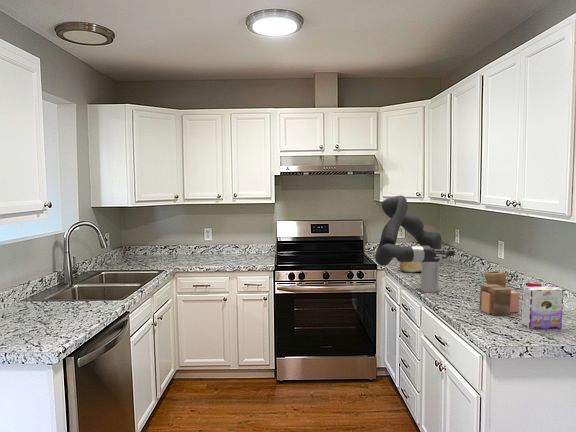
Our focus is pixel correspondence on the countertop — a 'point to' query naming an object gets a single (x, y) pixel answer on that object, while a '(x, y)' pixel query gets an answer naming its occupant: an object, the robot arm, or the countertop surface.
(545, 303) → the candy box
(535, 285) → the beverage can
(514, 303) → the block
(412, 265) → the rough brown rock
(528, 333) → the countertop surface
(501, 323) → the countertop surface
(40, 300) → the countertop surface
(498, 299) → the tunnel
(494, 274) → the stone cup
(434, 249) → the robot arm
